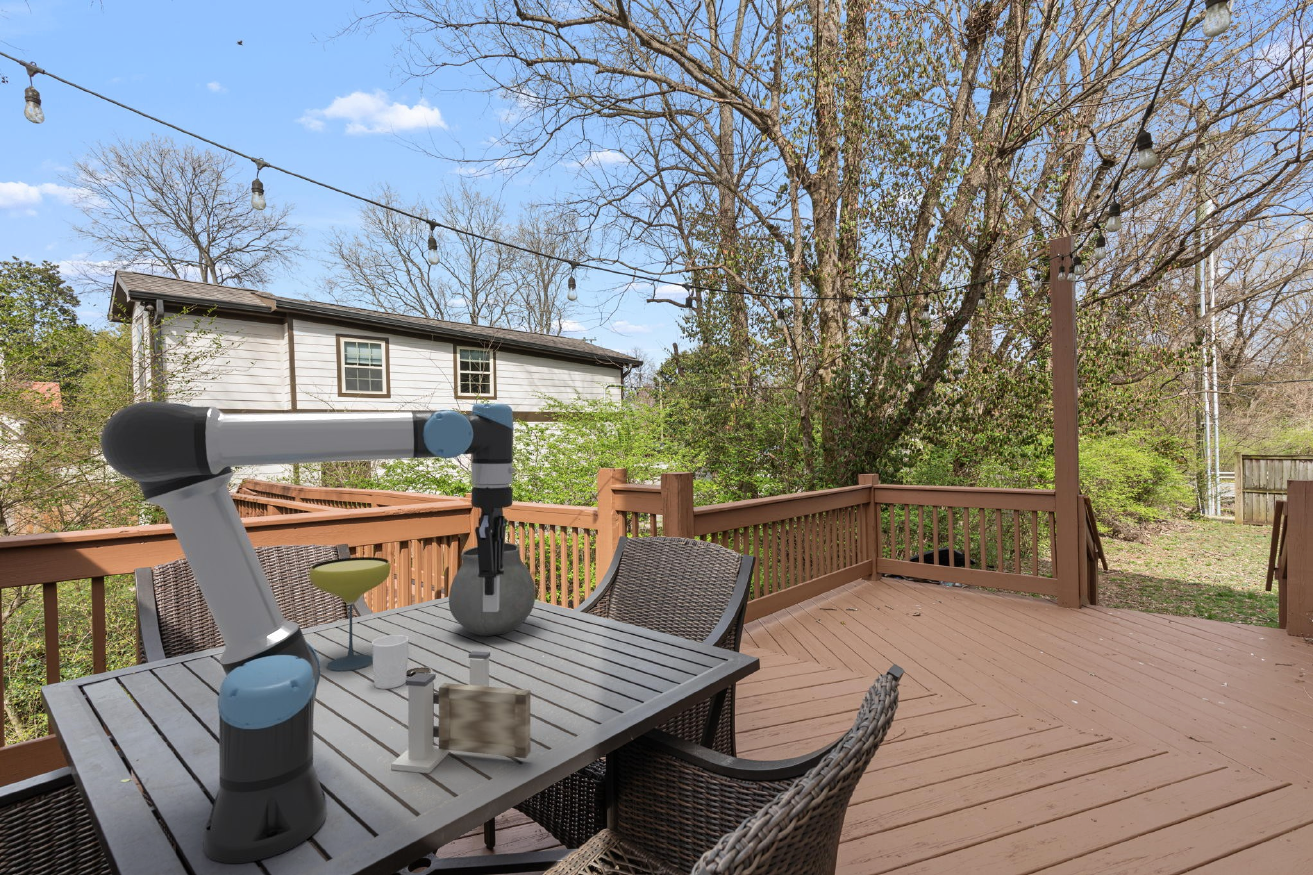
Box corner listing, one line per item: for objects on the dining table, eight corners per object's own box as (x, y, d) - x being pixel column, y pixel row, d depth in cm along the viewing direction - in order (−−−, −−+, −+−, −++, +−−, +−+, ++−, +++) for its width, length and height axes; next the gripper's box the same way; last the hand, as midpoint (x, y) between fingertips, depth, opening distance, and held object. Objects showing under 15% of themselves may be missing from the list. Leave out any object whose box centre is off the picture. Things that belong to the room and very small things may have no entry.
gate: (421, 746, 112) (421, 685, 112) (428, 741, 114) (428, 681, 114) (525, 758, 109) (525, 694, 109) (530, 752, 111) (530, 690, 110)
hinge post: (429, 773, 106) (429, 686, 106) (391, 769, 107) (391, 683, 107) (449, 752, 113) (449, 671, 113) (413, 749, 114) (413, 668, 114)
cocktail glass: (315, 655, 162) (315, 559, 162) (391, 647, 169) (391, 554, 169) (303, 681, 146) (303, 574, 145) (388, 671, 152) (388, 568, 152)
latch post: (486, 710, 130) (486, 659, 130) (459, 708, 131) (459, 657, 131) (498, 698, 136) (498, 649, 136) (472, 696, 137) (472, 647, 137)
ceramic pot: (449, 623, 190) (449, 541, 190) (530, 617, 197) (530, 537, 197) (448, 650, 167) (448, 556, 167) (540, 641, 174) (540, 551, 174)
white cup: (395, 691, 140) (395, 647, 140) (364, 688, 142) (364, 644, 142) (415, 678, 148) (415, 635, 148) (385, 675, 149) (385, 633, 149)
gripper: (502, 488, 112) (501, 621, 112) (520, 483, 125) (519, 601, 125) (460, 488, 112) (459, 620, 112) (482, 482, 125) (481, 601, 125)
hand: (491, 610), depth 118 cm, fingers closed
